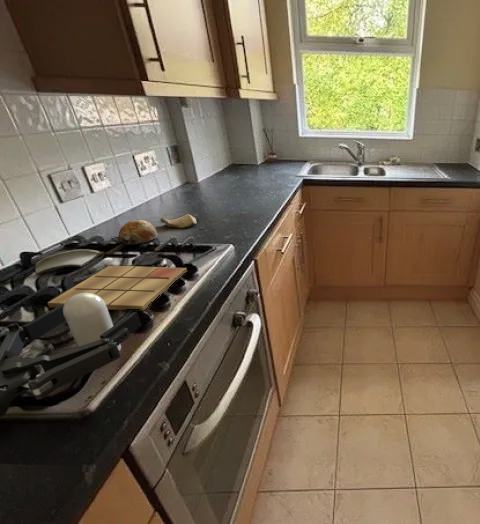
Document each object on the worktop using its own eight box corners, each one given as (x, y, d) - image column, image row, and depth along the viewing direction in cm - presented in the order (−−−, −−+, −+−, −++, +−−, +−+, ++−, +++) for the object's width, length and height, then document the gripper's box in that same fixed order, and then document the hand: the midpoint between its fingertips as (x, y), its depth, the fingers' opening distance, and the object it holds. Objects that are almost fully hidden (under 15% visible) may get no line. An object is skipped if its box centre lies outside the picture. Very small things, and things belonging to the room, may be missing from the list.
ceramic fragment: (101, 255, 94) (96, 242, 92) (107, 260, 91) (102, 247, 89) (35, 273, 84) (28, 259, 82) (40, 279, 81) (33, 265, 79)
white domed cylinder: (74, 362, 56) (47, 303, 51) (98, 341, 61) (76, 286, 56) (106, 363, 56) (82, 304, 51) (128, 342, 61) (108, 287, 56)
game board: (49, 307, 70) (46, 302, 69) (110, 269, 86) (109, 265, 86) (143, 310, 70) (142, 305, 69) (187, 271, 86) (186, 267, 86)
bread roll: (161, 249, 107) (166, 225, 107) (126, 246, 98) (132, 220, 97) (144, 243, 111) (149, 220, 111) (109, 239, 102) (115, 214, 102)
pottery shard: (188, 222, 125) (158, 221, 118) (189, 210, 124) (159, 209, 117) (199, 231, 119) (167, 230, 112) (200, 219, 118) (168, 218, 110)
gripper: (-126, 425, 41) (47, 325, 60) (50, 455, 38) (172, 340, 57) (-166, 380, 38) (30, 289, 57) (22, 409, 35) (162, 303, 54)
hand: (101, 314), depth 57 cm, fingers open, 13 cm apart
